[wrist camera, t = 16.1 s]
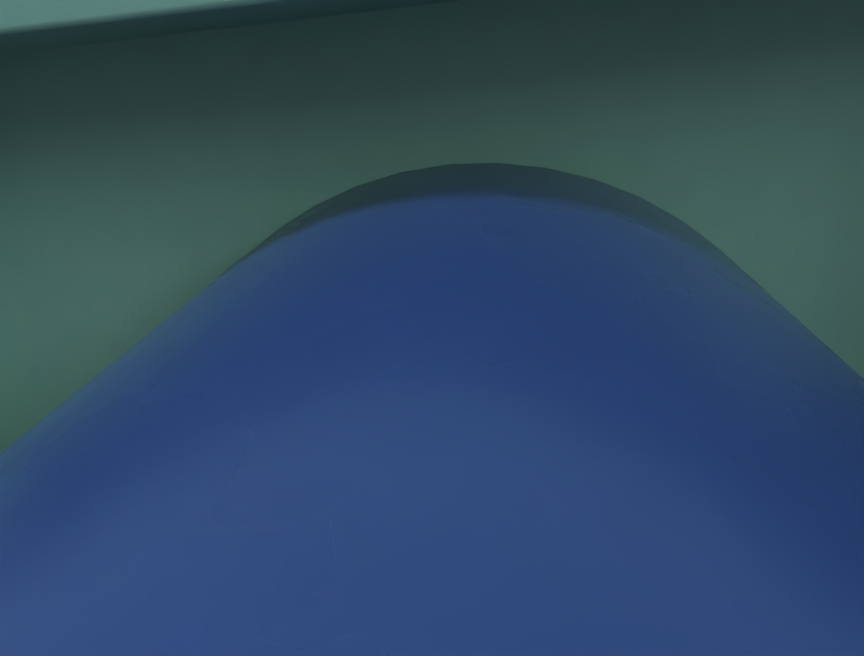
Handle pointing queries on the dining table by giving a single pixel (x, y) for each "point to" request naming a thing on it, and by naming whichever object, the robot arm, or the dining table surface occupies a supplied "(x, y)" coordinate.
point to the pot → (451, 448)
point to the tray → (401, 142)
